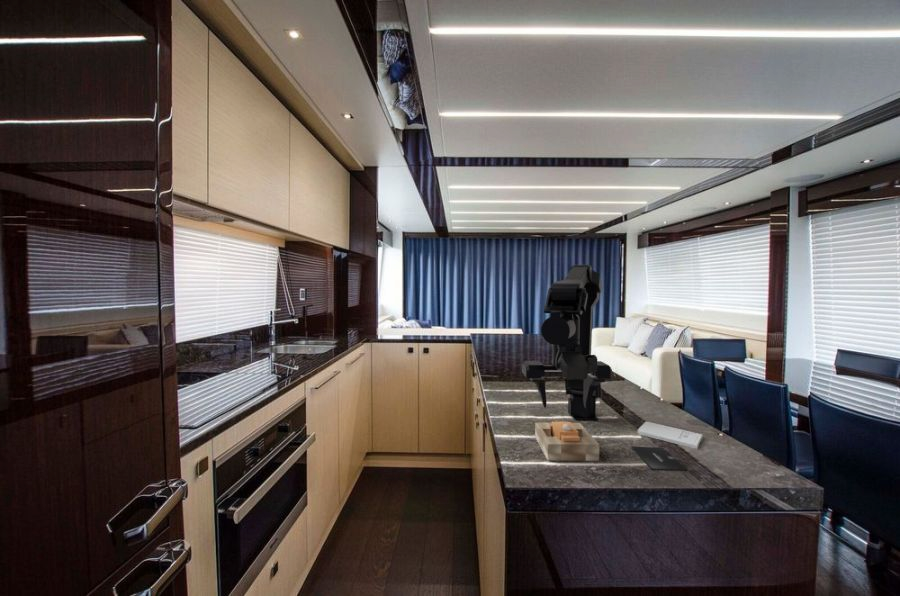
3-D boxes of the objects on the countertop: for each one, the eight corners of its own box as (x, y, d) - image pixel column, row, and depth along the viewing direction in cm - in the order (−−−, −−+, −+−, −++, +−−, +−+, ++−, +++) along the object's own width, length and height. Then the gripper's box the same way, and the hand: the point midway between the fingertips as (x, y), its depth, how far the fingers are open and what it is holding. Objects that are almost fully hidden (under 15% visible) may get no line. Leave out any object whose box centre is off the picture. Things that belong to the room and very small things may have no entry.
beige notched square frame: (579, 436, 88) (579, 422, 88) (599, 460, 76) (599, 444, 76) (535, 436, 88) (535, 422, 88) (547, 460, 76) (547, 444, 76)
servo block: (567, 439, 87) (567, 415, 86) (580, 458, 77) (581, 431, 77) (550, 439, 87) (550, 415, 86) (561, 458, 77) (562, 431, 77)
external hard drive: (646, 426, 96) (702, 440, 88) (637, 436, 90) (697, 451, 82) (646, 420, 96) (702, 433, 88) (637, 429, 90) (697, 444, 82)
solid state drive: (662, 450, 82) (662, 447, 82) (688, 473, 72) (688, 469, 72) (630, 449, 82) (630, 446, 82) (651, 471, 72) (651, 468, 72)
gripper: (531, 344, 73) (531, 420, 74) (624, 344, 73) (623, 420, 73) (521, 336, 84) (521, 402, 85) (602, 336, 84) (601, 403, 85)
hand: (565, 407), depth 82 cm, fingers open, 9 cm apart
